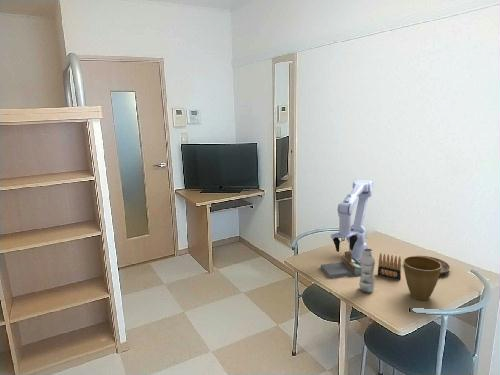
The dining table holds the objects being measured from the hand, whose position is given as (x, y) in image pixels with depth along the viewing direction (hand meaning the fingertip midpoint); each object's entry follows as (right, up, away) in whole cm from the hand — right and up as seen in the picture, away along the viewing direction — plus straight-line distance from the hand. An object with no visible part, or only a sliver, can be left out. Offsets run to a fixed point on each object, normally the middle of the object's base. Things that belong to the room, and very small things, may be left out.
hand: (344, 250), depth 180 cm
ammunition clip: (+20, -12, -8) cm, 25 cm away
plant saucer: (+42, -10, -1) cm, 43 cm away
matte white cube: (+3, -9, +4) cm, 10 cm away
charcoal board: (-4, -11, -1) cm, 12 cm away
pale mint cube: (+5, -10, -3) cm, 11 cm away
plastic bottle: (+5, -15, -20) cm, 25 cm away
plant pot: (+26, -16, -26) cm, 40 cm away
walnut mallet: (+2, -8, 0) cm, 8 cm away
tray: (+5, -10, +1) cm, 12 cm away
